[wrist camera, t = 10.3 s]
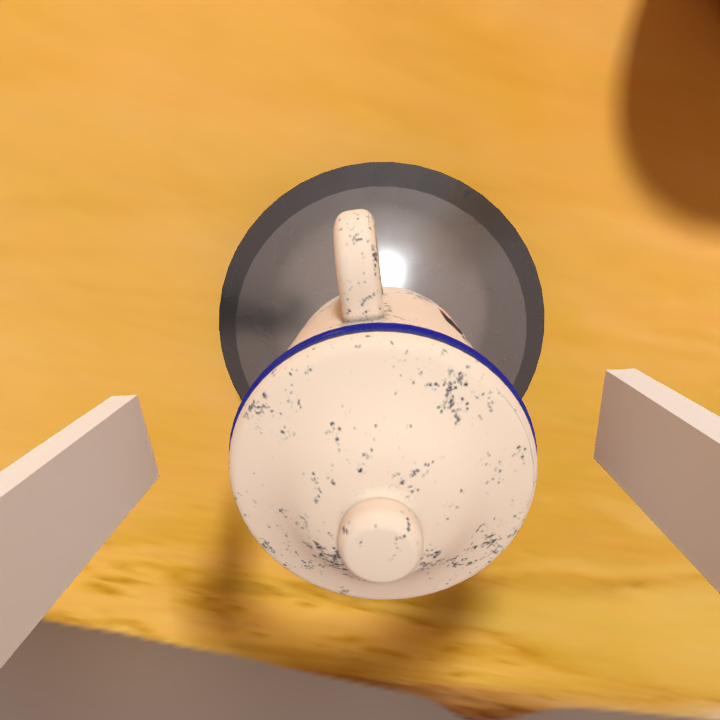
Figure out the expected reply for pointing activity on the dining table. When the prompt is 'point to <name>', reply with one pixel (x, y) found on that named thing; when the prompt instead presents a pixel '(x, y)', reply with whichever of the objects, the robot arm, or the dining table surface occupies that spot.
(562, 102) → the dining table surface
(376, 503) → the teacup with lid
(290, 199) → the dark gray round plate
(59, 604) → the dining table surface
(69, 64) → the dining table surface
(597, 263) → the dining table surface
